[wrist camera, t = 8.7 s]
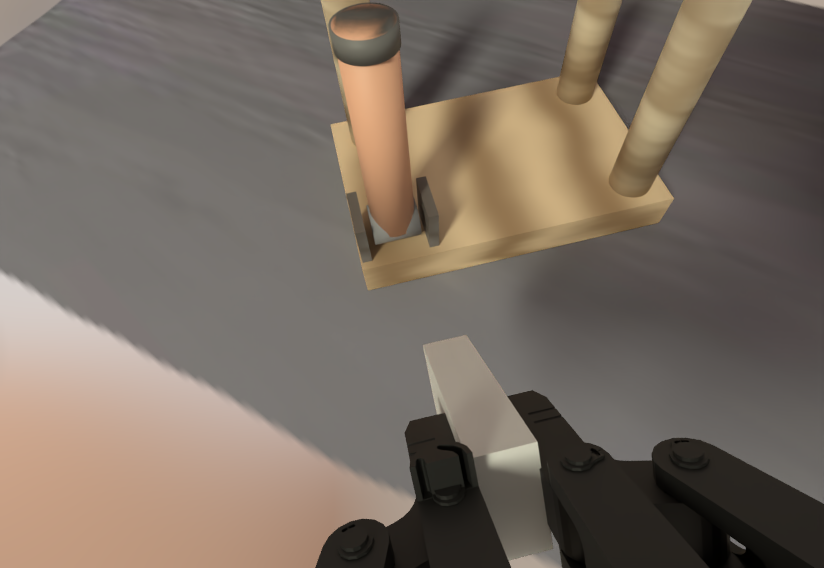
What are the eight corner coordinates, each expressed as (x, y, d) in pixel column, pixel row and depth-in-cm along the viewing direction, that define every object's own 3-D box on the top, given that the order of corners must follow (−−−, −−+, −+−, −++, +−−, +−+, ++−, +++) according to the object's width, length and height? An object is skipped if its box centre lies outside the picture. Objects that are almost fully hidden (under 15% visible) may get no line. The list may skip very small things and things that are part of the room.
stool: (581, 97, 39) (654, -156, 26) (658, 222, 33) (813, -27, 19) (337, 149, 38) (276, -89, 24) (368, 290, 32) (308, 74, 18)
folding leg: (412, 211, 31) (391, -3, 20) (423, 245, 30) (405, 33, 19) (369, 220, 31) (323, 10, 20) (377, 255, 29) (333, 48, 18)
